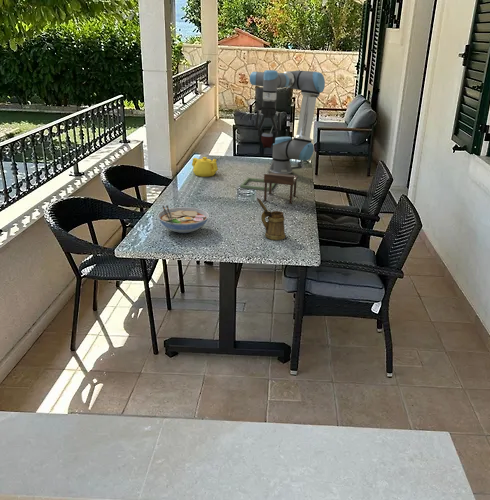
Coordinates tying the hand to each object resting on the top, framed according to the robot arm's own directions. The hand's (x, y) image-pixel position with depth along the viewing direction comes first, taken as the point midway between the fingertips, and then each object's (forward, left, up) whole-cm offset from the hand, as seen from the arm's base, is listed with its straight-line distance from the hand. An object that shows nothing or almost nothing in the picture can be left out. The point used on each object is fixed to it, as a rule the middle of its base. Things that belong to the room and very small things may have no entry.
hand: (267, 142), depth 284 cm
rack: (+14, +11, -27) cm, 33 cm away
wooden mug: (+72, +17, -28) cm, 79 cm away
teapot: (-22, -43, -28) cm, 55 cm away
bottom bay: (-8, -6, -27) cm, 29 cm away
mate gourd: (0, 0, -3) cm, 3 cm away
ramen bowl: (+77, -22, -28) cm, 85 cm away
